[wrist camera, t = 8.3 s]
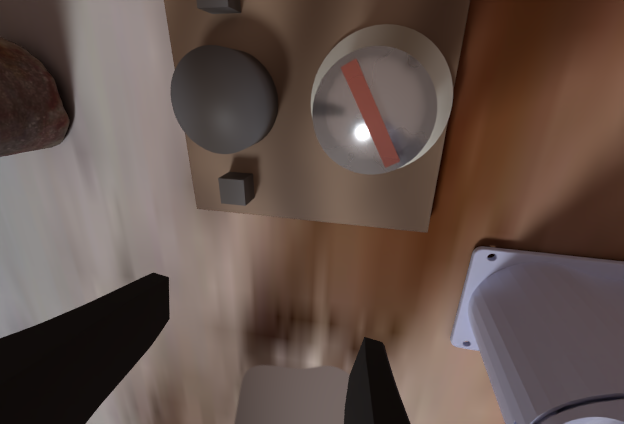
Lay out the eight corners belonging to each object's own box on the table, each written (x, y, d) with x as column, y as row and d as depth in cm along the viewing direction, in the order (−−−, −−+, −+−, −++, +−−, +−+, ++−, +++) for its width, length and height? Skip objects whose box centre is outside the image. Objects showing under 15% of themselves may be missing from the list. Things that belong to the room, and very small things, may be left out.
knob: (437, 127, 15) (457, 145, 11) (353, 165, 17) (342, 193, 12) (402, 35, 14) (409, 14, 10) (315, 86, 15) (289, 87, 11)
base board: (476, -67, 13) (502, -109, 10) (424, 223, 19) (432, 249, 16) (171, -42, 16) (124, -69, 13) (206, 202, 22) (179, 220, 19)
